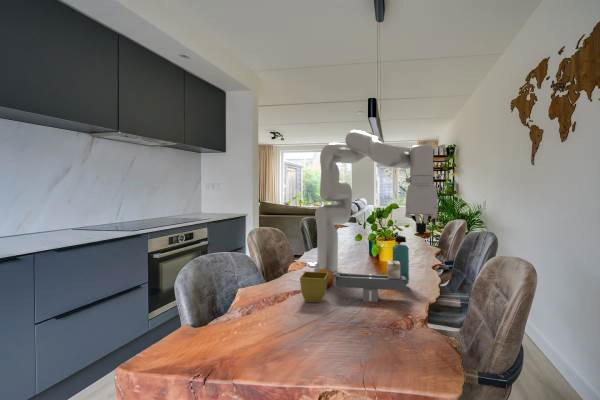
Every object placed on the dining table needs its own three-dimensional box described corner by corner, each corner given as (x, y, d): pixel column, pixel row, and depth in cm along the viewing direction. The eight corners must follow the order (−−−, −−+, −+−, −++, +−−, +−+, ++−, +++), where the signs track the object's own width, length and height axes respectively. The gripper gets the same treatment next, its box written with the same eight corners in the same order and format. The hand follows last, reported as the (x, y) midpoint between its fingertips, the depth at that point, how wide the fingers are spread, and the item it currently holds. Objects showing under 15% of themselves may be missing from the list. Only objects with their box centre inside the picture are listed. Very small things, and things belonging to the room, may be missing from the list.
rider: (388, 284, 119) (388, 263, 119) (387, 279, 125) (387, 260, 124) (400, 284, 118) (400, 264, 118) (398, 280, 124) (398, 260, 124)
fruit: (333, 279, 143) (333, 265, 138) (333, 294, 136) (333, 279, 132) (314, 279, 143) (313, 264, 139) (313, 293, 137) (312, 279, 133)
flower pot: (325, 305, 115) (325, 278, 114) (299, 303, 116) (299, 277, 116) (328, 297, 123) (328, 272, 123) (304, 296, 125) (304, 271, 125)
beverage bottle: (405, 289, 133) (406, 237, 132) (389, 286, 137) (389, 236, 136) (411, 286, 138) (411, 236, 138) (395, 283, 142) (395, 234, 142)
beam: (335, 299, 121) (335, 277, 121) (337, 292, 130) (337, 271, 130) (406, 303, 116) (406, 281, 116) (403, 295, 125) (403, 274, 125)
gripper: (399, 181, 117) (399, 235, 117) (447, 180, 114) (446, 236, 114) (397, 181, 124) (397, 233, 124) (442, 181, 121) (441, 233, 122)
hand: (421, 234), depth 119 cm, fingers closed
